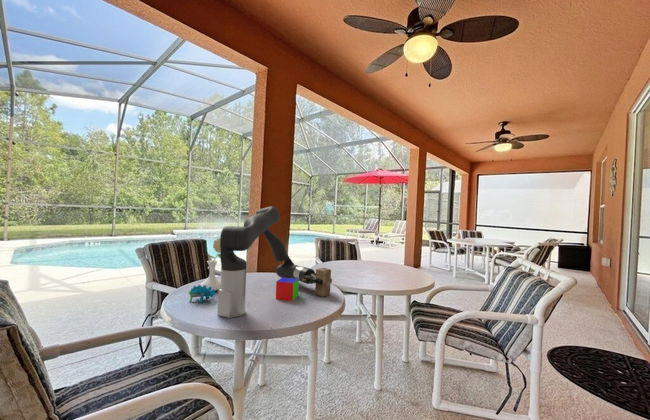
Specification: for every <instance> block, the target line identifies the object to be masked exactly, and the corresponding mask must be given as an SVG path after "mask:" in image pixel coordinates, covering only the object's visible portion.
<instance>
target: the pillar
mask: <svg viewBox="0 0 650 420" xmlns="http://www.w3.org/2000/svg"><path fill="white" fill-rule="evenodd" d="M315 273H316V278H317V279H321V280H323V285H320V284H315V291H314V295H316V296H319V297H322V298H323V297H327V296H328V297H329V296H331V284H332V283H330V282H331V279H332V269H329V268H327V267H321V268H316V269H315Z"/></svg>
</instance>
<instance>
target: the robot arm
mask: <svg viewBox="0 0 650 420" xmlns="http://www.w3.org/2000/svg"><path fill="white" fill-rule="evenodd" d="M280 216H281V215H280V211H279V209H278V208H277V207H275V206H267V207H264V208H259V209H257V210H256V213H255V214H253V215H251V216H250V217H248V218H247V219H245V220H244V223H243V226H234V225H233V226H232V225H231V226H230V225H227V226H224V227H223V228H222V230H221V231H220V237H219V238H220V253H219V254H221V256H220V258H219V259H220V265H221V266H220V268H221V269H220V271H221V272H220V281H221V289H220V290H217V292H218V294H217V295H218V296H217V316H220V317H223V318H227V319H232V318H237V317H241V316H243V315H245V313H246V296H247V295H246V291H247V290H246V289H247V268H248V267H247V266H248V265H247V261H246V260H245V259H244V258H242V257H239V256H238V255H237V254H236V253H235V251H236V252H243V251H244V252H245V251H247V250H249V248H251V247H252V245H253V243H254V242H255V241H256V240H257V239H258V238H259V237H260V236H261V235H264V237H265V239H266V241H267V243H268V245H269V248H271V252H272V254H273V257H274V260H275V261H276V262H282V263H281V264H279V265H278V266H277V267H276V269H275V272H276V275H277V276H278V277H280V279H281V278H283V277H284V278H295V279H299V282H301V283H304V284H307V285H313V284H314V285H316V284H320V285H323V280H321V279H317V278H316V271H315V270H314V269H312V268H309V267H306V266H301V265H297V264H295V262H293V260H292V259H291V258H290V256H289V255H288V252H287V250H286V247H285V243H284V242H283V241H282V239H281V238H279V237H278V236H276V234H274V233H273V232H272V230H271V229H270V228H271V227H272V226H273V225H275V224H277V223H278V222H279V221H280ZM332 282H333V278H331V282H330V283H331V284H332Z"/></svg>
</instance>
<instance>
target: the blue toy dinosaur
mask: <svg viewBox="0 0 650 420" xmlns="http://www.w3.org/2000/svg"><path fill="white" fill-rule="evenodd" d="M211 289H212V287H209V288H208V289H207V288H206V285H203V287H201V285H200V284H197V286H196V285H193V286H192V287H191V289H190V290H189V291H188V295H189V297H190V298H189V302H190V303H192V301H193V298H199V301H198V303H199V304H202V303H203V302H202V301H203V299H204V298H206V299H210V298H213V297H214V296H216V291H215V290H214V289H212V291H210V290H211Z"/></svg>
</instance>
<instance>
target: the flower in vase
mask: <svg viewBox="0 0 650 420" xmlns="http://www.w3.org/2000/svg"><path fill="white" fill-rule="evenodd" d="M212 248H213V249H214V251H215V253H217V254H216V256H213V255H210V254H207V256H208V258H212V259H213V260H210V259H209V260H207V261H206V262H207V264H208V266H209V267H208V268H209V275H208V277H207V278H206V279H205V280H203V281H202V282H201V283H200V284H199V285H201V287H203V285H206V288H207V289H208V288H209V287H212V289H214V290H215V292H216V291H217V292H218V291H219V290H220V289H221V279H219V278H217V277H216V274H215V272H216V266H217V263H218V262H219V260H216V259H217V257H218V258H219V259H220V256H221V254H220V237H219V238H216V239H214V241H213V244H212ZM212 289H211V290H210V291H212Z"/></svg>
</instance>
